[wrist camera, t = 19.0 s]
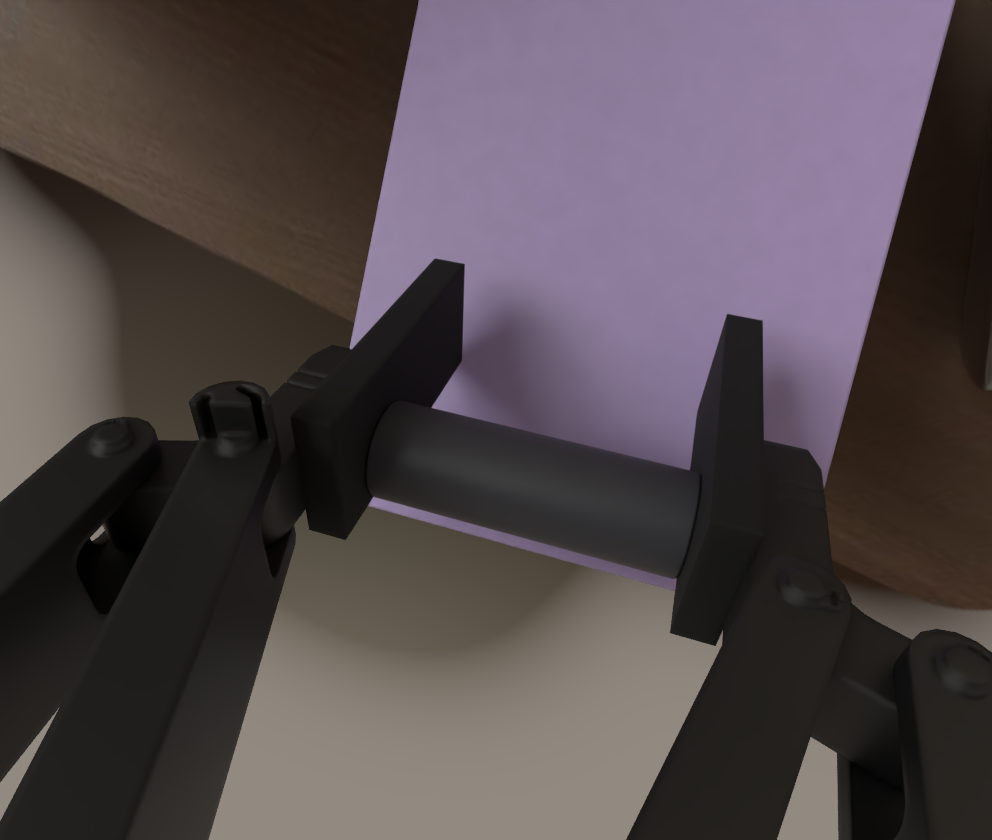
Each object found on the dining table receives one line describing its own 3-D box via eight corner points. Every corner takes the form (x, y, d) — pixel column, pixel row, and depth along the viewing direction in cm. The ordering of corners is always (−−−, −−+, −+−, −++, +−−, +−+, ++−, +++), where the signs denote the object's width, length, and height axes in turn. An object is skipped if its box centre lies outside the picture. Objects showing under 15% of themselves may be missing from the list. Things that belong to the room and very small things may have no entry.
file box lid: (781, 613, 17) (860, 738, 11) (332, 489, 20) (190, 534, 13) (973, -102, 16) (1190, -424, 9) (458, -139, 18) (362, -413, 12)
